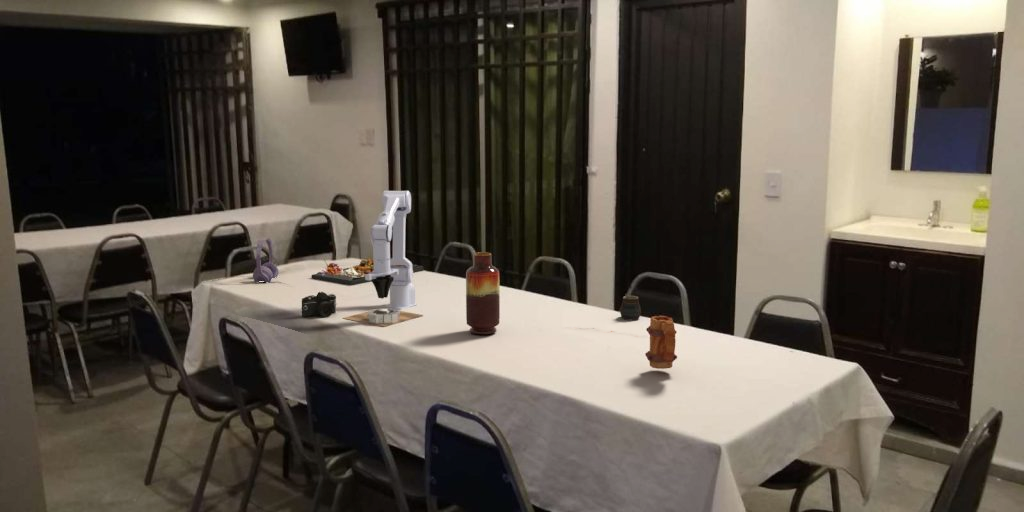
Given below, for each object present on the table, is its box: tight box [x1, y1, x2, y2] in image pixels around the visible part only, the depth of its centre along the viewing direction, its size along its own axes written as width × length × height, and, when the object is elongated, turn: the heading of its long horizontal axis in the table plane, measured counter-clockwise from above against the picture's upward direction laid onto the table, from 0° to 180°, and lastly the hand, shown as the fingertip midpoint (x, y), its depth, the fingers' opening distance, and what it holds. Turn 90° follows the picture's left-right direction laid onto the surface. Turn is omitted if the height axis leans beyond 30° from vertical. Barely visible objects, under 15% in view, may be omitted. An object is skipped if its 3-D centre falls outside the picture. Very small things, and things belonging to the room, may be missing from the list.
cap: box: [376, 308, 390, 314], centre depth 287 cm, size 5×5×4 cm
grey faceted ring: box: [366, 307, 401, 324], centre depth 287 cm, size 11×11×3 cm
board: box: [342, 310, 424, 328], centre depth 293 cm, size 20×20×1 cm
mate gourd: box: [619, 293, 642, 320], centre depth 289 cm, size 7×8×10 cm
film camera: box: [301, 291, 338, 318], centre depth 293 cm, size 13×8×10 cm, turn 130°
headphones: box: [252, 237, 279, 283], centre depth 357 cm, size 18×8×20 cm, turn 179°
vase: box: [465, 251, 501, 335], centre depth 272 cm, size 11×11×26 cm
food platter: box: [311, 257, 424, 286], centre depth 367 cm, size 45×25×10 cm, turn 145°
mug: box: [645, 315, 678, 370], centre depth 229 cm, size 15×8×15 cm, turn 5°
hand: (382, 297), depth 286 cm, fingers closed
